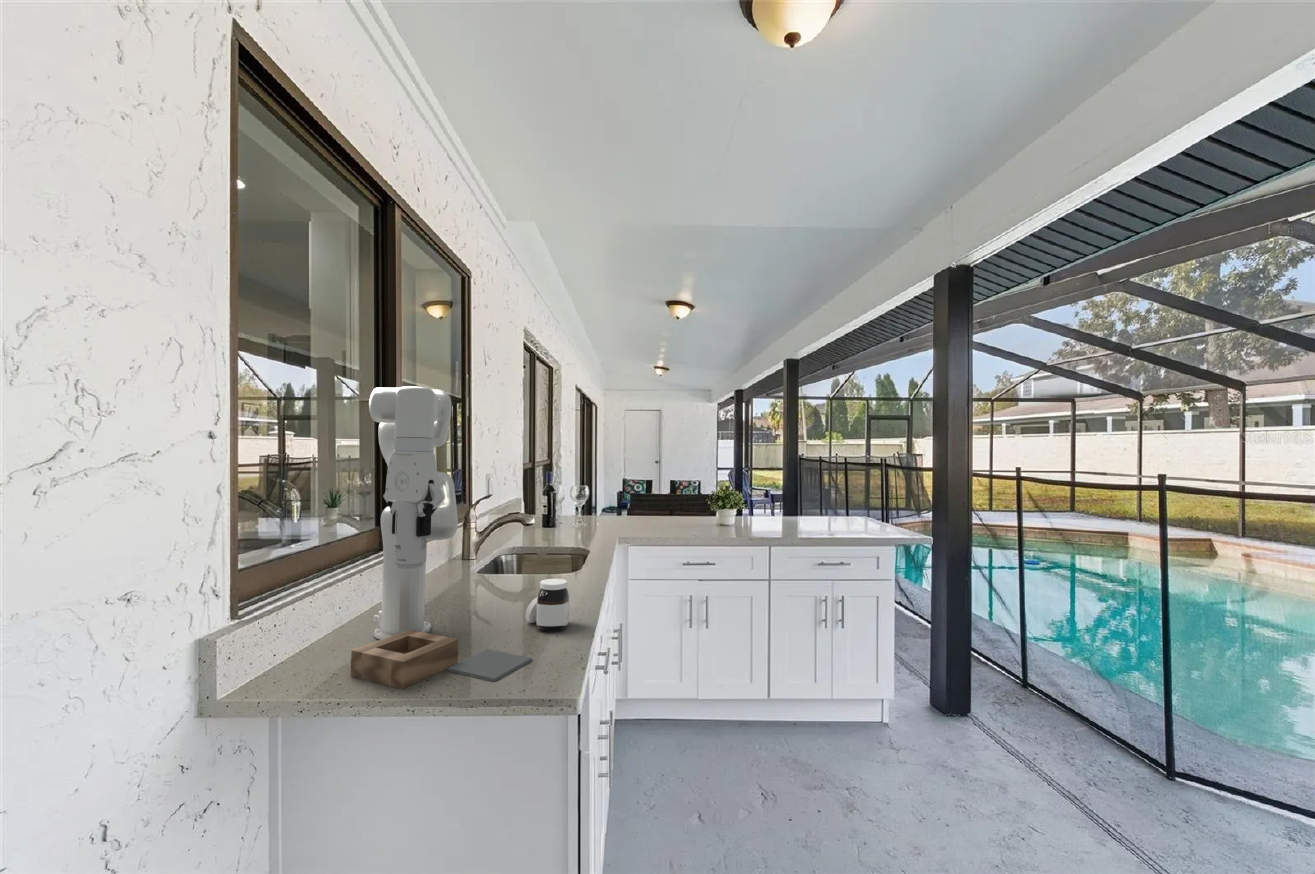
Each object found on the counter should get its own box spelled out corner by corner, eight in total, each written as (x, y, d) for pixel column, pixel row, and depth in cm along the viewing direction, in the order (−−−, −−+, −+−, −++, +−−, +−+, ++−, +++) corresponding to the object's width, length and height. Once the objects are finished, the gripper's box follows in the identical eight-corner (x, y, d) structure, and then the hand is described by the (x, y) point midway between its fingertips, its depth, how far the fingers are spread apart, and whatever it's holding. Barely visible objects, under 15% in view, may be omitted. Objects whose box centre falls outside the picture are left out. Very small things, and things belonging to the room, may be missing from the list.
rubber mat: (447, 670, 110) (447, 667, 110) (487, 651, 121) (487, 649, 121) (494, 681, 105) (494, 678, 105) (531, 660, 116) (532, 657, 116)
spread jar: (564, 634, 134) (565, 586, 134) (518, 633, 134) (519, 585, 135) (572, 619, 146) (573, 575, 146) (530, 618, 146) (531, 575, 146)
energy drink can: (395, 564, 113) (397, 491, 114) (426, 562, 115) (428, 491, 116) (392, 570, 108) (395, 494, 108) (425, 568, 110) (427, 493, 110)
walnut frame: (350, 675, 107) (351, 650, 107) (408, 652, 120) (409, 629, 120) (402, 689, 101) (403, 662, 102) (457, 663, 114) (458, 639, 114)
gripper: (368, 446, 112) (365, 533, 112) (431, 447, 105) (428, 540, 105) (399, 446, 119) (396, 529, 119) (459, 447, 112) (457, 535, 112)
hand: (411, 533), depth 112 cm, fingers closed on energy drink can, 6 cm apart
